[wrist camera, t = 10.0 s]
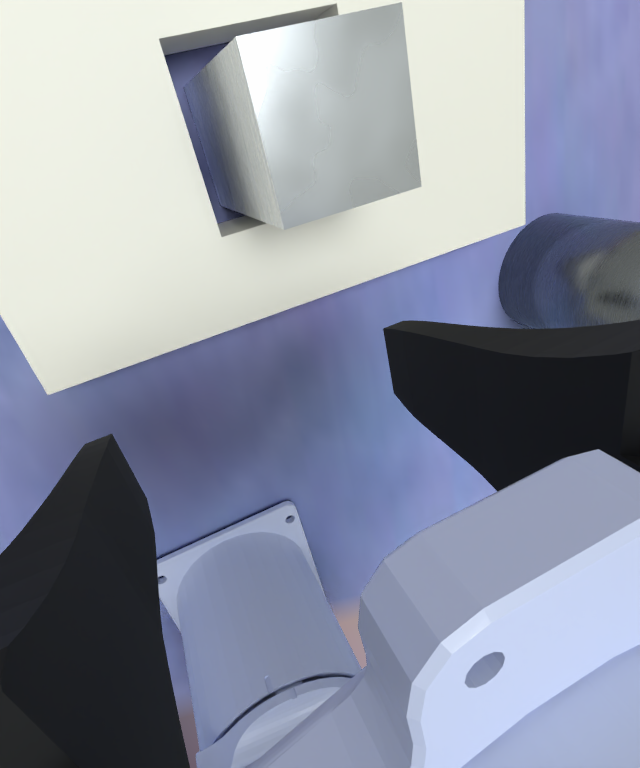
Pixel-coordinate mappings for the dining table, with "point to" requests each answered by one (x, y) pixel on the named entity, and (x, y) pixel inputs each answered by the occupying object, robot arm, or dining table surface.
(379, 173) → the square steel peg
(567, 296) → the round dark peg
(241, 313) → the cream socket block
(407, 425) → the dining table surface
